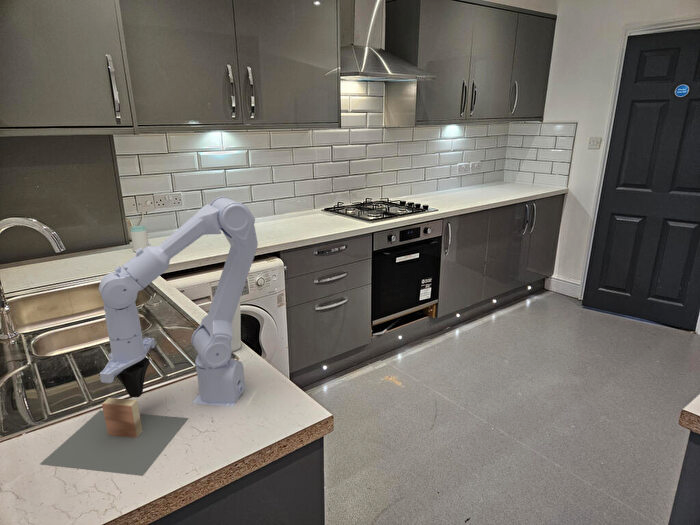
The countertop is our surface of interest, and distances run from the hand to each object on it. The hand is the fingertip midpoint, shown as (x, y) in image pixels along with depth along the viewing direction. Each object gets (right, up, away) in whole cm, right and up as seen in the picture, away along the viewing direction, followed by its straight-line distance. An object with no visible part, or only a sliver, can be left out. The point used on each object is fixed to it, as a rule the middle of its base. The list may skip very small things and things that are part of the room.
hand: (136, 395), depth 92 cm
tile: (-1, -6, -3) cm, 7 cm away
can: (-58, +32, +129) cm, 145 cm away
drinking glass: (+11, +3, +31) cm, 33 cm away
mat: (-1, -8, -5) cm, 9 cm away
